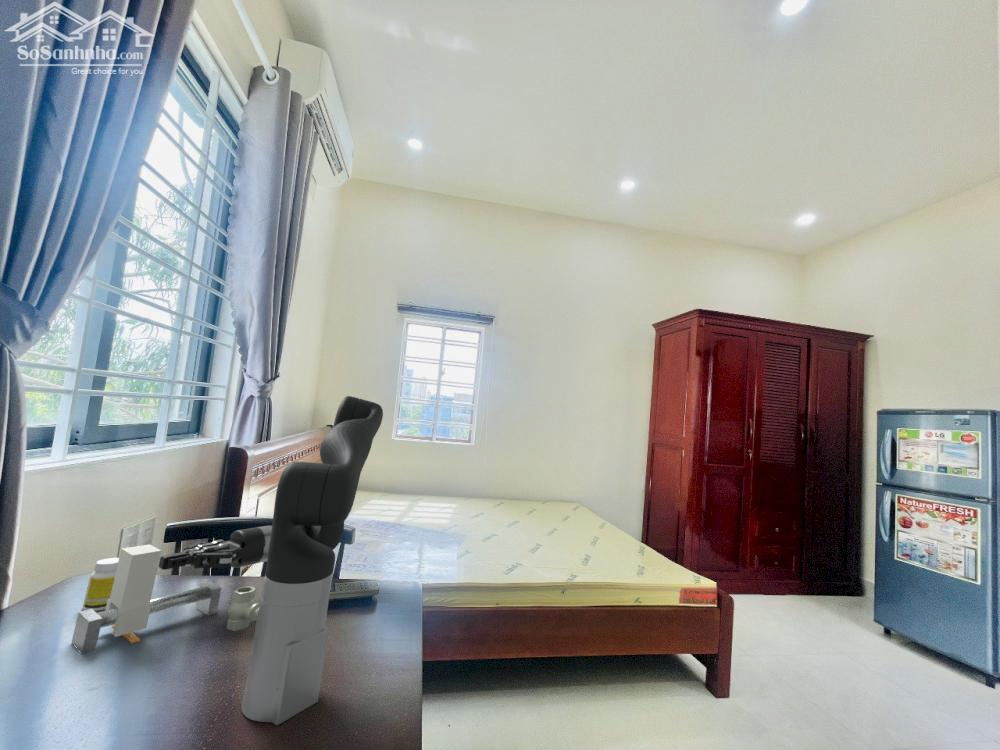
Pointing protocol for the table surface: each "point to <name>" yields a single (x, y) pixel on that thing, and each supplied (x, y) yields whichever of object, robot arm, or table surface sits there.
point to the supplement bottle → (100, 584)
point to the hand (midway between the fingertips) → (161, 563)
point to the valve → (242, 608)
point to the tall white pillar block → (133, 588)
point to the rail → (93, 621)
